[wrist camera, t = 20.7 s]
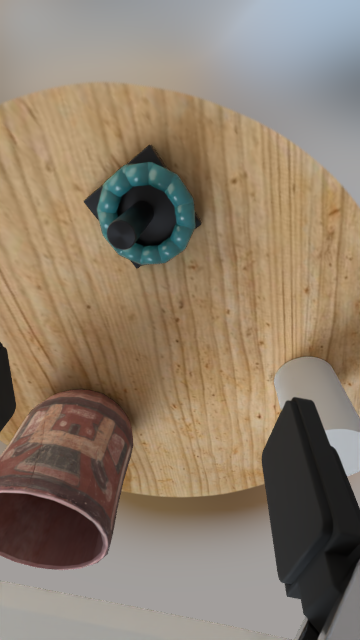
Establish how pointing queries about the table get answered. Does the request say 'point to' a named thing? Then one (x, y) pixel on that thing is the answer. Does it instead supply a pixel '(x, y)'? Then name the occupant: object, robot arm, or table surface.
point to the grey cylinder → (324, 404)
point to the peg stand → (140, 212)
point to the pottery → (64, 481)
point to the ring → (162, 181)
